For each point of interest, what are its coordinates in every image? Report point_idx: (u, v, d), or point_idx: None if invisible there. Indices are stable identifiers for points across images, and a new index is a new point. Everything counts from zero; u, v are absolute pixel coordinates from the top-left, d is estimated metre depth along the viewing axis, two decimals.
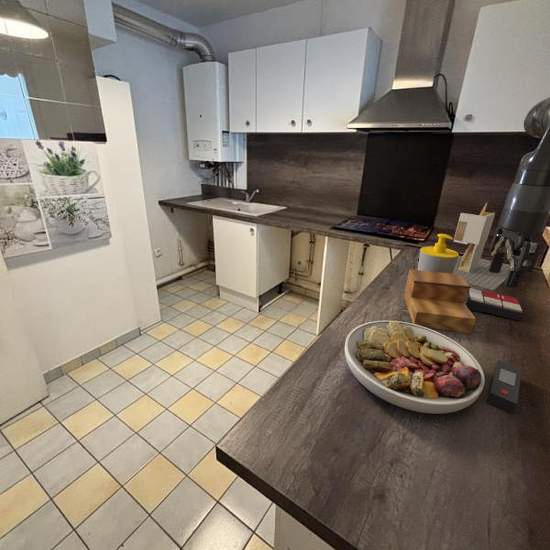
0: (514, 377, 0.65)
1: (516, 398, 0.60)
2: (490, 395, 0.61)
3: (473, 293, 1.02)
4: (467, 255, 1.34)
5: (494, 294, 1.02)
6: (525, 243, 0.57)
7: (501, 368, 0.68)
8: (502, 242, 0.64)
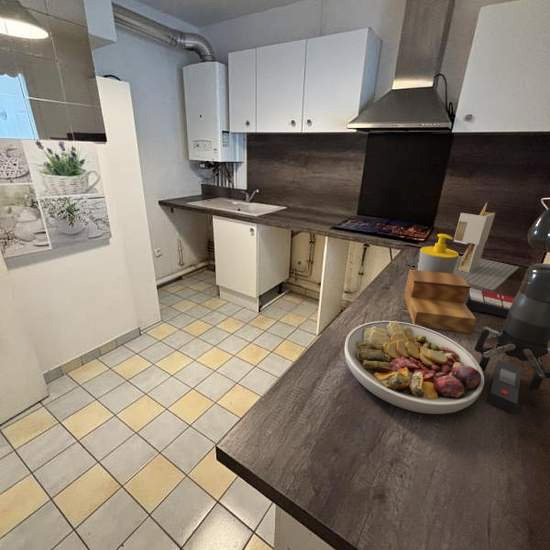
0: (514, 377, 0.65)
1: (516, 398, 0.60)
2: (490, 395, 0.61)
3: (473, 293, 1.02)
4: (467, 255, 1.34)
5: (494, 294, 1.02)
6: None
7: (501, 368, 0.68)
8: None
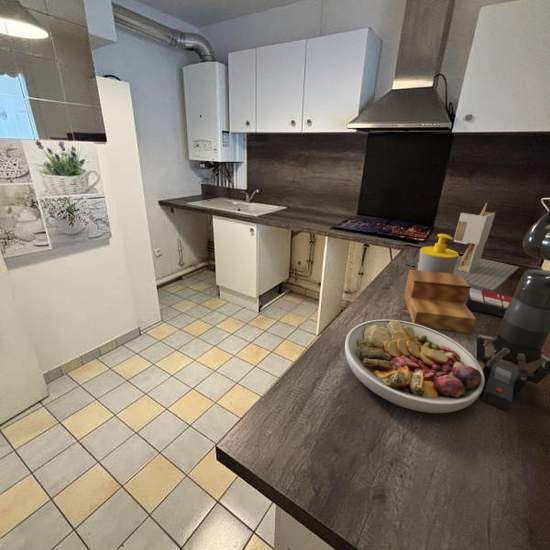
0: (509, 375, 0.66)
1: (510, 396, 0.60)
2: (485, 392, 0.62)
3: (473, 293, 1.02)
4: (467, 255, 1.34)
5: (494, 294, 1.02)
6: None
7: (496, 367, 0.68)
8: (507, 353, 0.62)
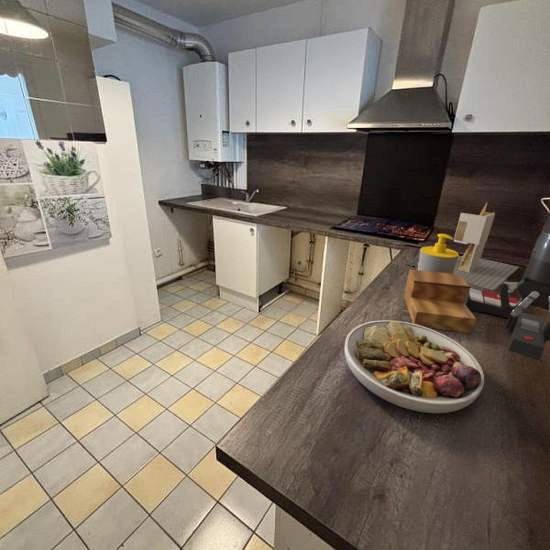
0: (537, 325, 0.60)
1: (542, 343, 0.54)
2: (513, 342, 0.56)
3: (473, 293, 1.02)
4: (467, 255, 1.34)
5: (494, 294, 1.02)
6: None
7: (522, 318, 0.62)
8: (536, 297, 0.56)
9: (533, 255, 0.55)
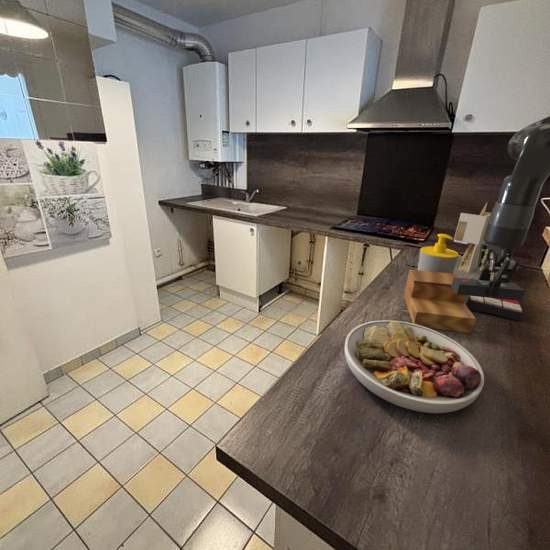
0: None
1: (466, 284, 0.71)
2: (453, 279, 0.75)
3: None
4: (467, 255, 1.34)
5: None
6: (505, 261, 0.63)
7: None
8: (488, 254, 0.70)
9: None
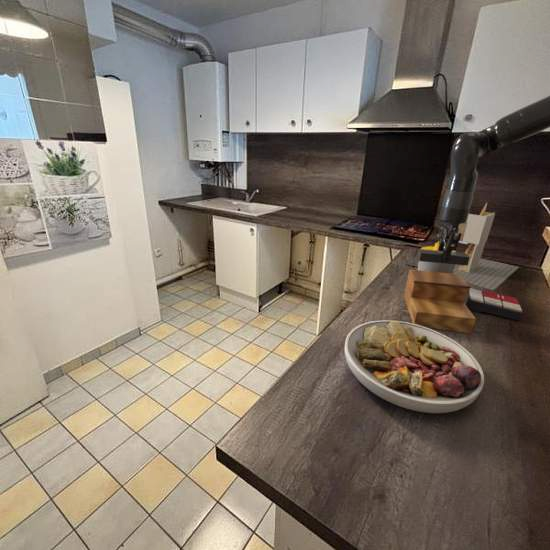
0: None
1: (426, 253, 0.93)
2: (418, 251, 0.97)
3: (473, 293, 1.02)
4: None
5: (494, 294, 1.02)
6: (451, 233, 0.85)
7: (453, 252, 0.94)
8: (442, 230, 0.92)
9: None
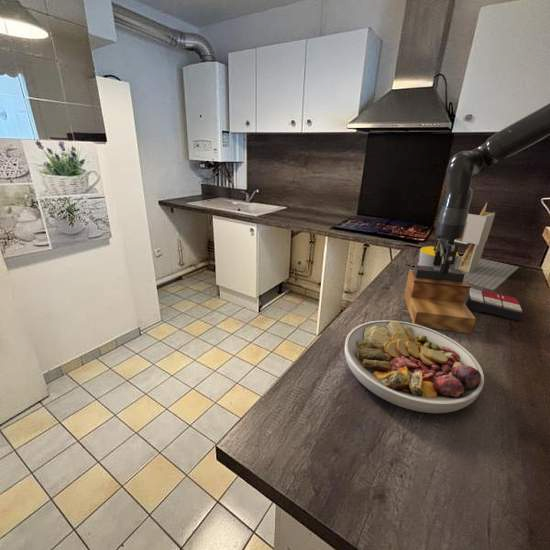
0: None
1: (422, 270, 0.95)
2: (414, 267, 1.00)
3: (473, 293, 1.02)
4: (467, 255, 1.34)
5: (494, 294, 1.02)
6: (448, 245, 0.87)
7: None
8: (438, 244, 0.94)
9: None
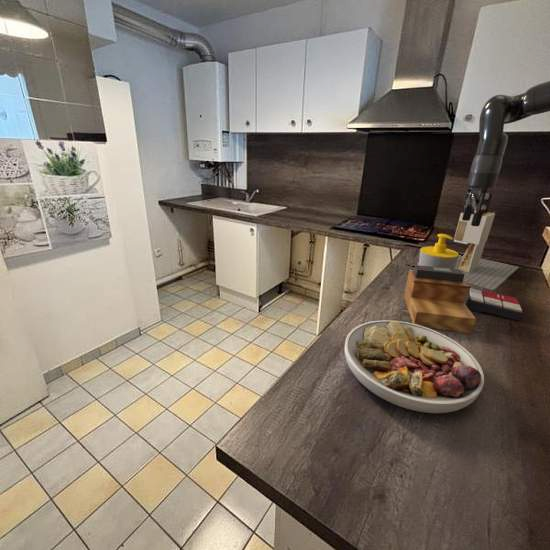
0: (446, 270, 0.94)
1: (422, 270, 0.95)
2: (414, 267, 1.00)
3: (473, 293, 1.02)
4: (467, 255, 1.34)
5: (494, 294, 1.02)
6: (482, 193, 0.86)
7: (448, 268, 0.96)
8: (470, 196, 0.94)
9: None
